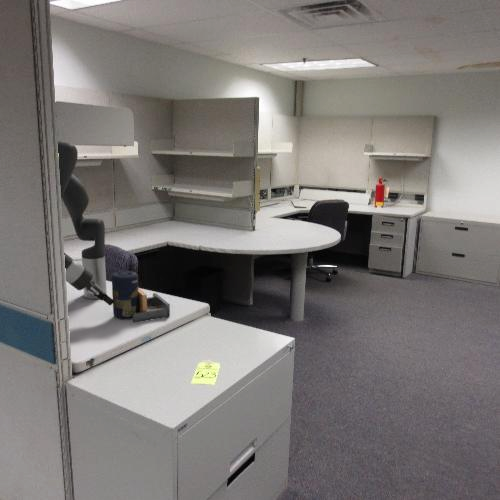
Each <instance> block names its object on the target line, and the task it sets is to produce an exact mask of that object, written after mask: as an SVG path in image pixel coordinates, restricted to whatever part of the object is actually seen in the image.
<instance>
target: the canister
mask: <svg viewBox="0 0 500 500" xmlns="http://www.w3.org/2000/svg"><path fill="white" fill-rule="evenodd" d="M111 287H112V288H111V293H112V299H113V301H114V302H113V303H112V308H113V309H112V312H113V313H112V314H113V317H114V318H115V319H118V320H133V316H132V313H135V312H139V293H138V288H139V274H138V273H137V272H135V271H131V270H122V271H117V272H115V273H113V274H112V275H111Z"/></svg>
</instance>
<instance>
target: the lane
mask: <svg viewBox="0 0 500 500" xmlns="http://www.w3.org/2000/svg"><path fill="white" fill-rule="evenodd" d="M150 306H151V307H154V308H155V309H149V310H148V309H147V311H141V312H135V313H132V316H133V318H132V323H133V324H136V323H142V322H147V321H146V320H148V321H152V320H151V319H154V320H158V319H157V318H160V319H163V318H162V317H165V318H169V317H168V316H170V317H171V310H170V309H171V308H170V307H171V305H170V303H169V302H168V301H166V300H165V299H164V298H162V296H160V295H159V294H158V293H157V292H153V293H152V296H150V297H147V308H149V307H150ZM151 307H150V308H151ZM141 321H142V322H141Z"/></svg>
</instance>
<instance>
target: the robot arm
mask: <svg viewBox="0 0 500 500" xmlns="http://www.w3.org/2000/svg"><path fill="white" fill-rule="evenodd" d="M57 141H58V153H59V169H60V185H61V198H62V199H61V201H62V203H64V206H65V208H66V210H67V212H68V214H69V216H70V219H71V223H72V225H73V228H74V233H76V236H77V238H78V240H80V241H83V242H84V241H85V242H94V243H93V245H92V246H90V247H86V248H84V249H82V250H81V263H79V262H78V261H77V260H75V259H73V258H72V257H71V256H70V255H69V254H67V253H66V252H64V255H65V268H66V281H65V282H66V283H68V284H69V285H71V286H72V287H73V288H75V290H77V291H82V290H83V297H84V298H85V299H91V300H94V299H95V300H97V299H98V300H101V301H103V302H104V303H106V304H107V305H108V306H113V302H114V301H113V298H111V297H110V296H109V295H108V293H107V274H106V273H107V271H106V269H107V268H106V252H105V251H106V239H105V238H106V226H105V222H104V220H103V219H101V218H87V217H86V218H85V217H84V216H83V214H84V213H85V211H86V210H87V208H88V205H89V202H90V196H89V194H88V192H87V190H86V187H85V185H84V184H83V182H82V181H81V180H80V179H79V178H77V177H76V175H74V174H73V173H74V170H75V168H76V166H77V162H78V155H79V154H78V149H77V147H76V145H75V144H74V143H70V142H66V141H61V140H57Z"/></svg>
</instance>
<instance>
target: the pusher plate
mask: <svg viewBox="0 0 500 500" xmlns="http://www.w3.org/2000/svg"><path fill="white" fill-rule="evenodd" d="M138 293H139V312H141V311H147V310H148V307H147V298H148V297H147V296H148V295H147V294H146V292H144V291H143V289H141V288H139V287H138Z"/></svg>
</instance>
